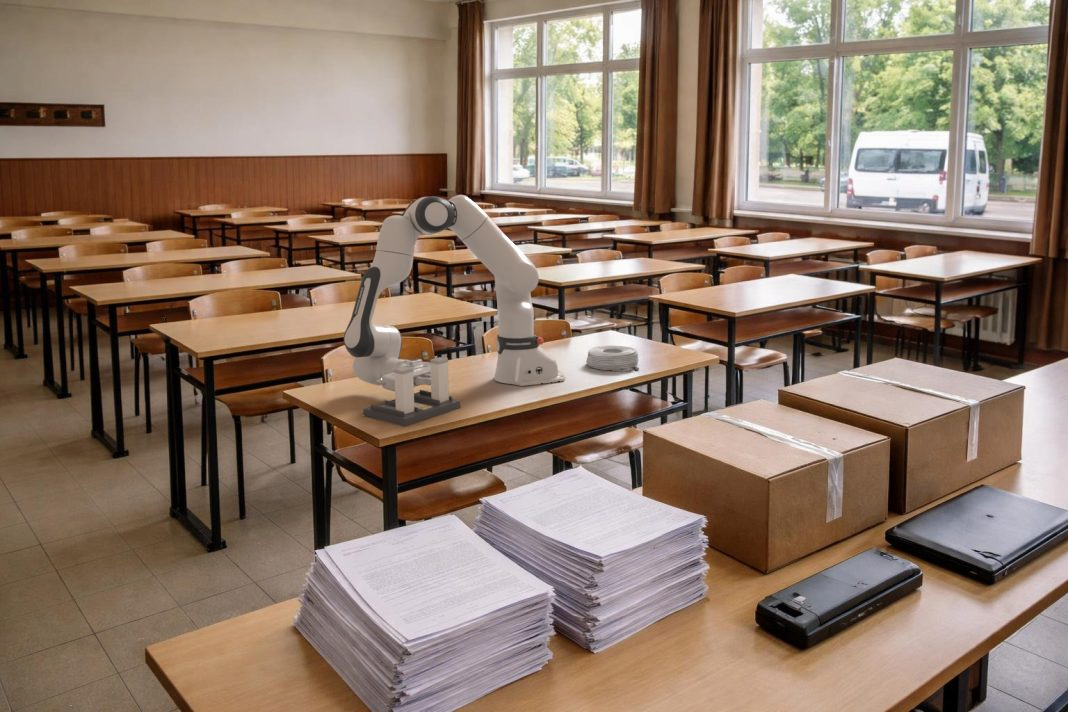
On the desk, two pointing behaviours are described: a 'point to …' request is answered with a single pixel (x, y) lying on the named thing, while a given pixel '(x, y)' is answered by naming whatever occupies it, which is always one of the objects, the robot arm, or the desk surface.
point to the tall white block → (439, 379)
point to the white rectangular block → (404, 389)
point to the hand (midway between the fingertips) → (433, 381)
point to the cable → (613, 358)
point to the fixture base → (422, 411)
